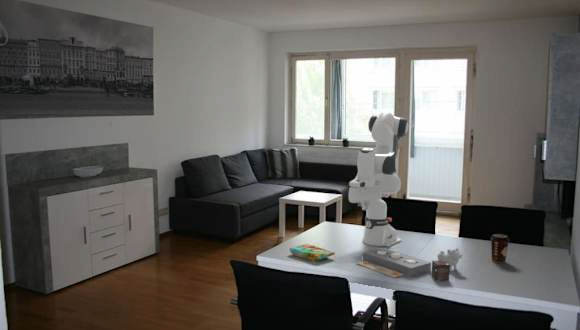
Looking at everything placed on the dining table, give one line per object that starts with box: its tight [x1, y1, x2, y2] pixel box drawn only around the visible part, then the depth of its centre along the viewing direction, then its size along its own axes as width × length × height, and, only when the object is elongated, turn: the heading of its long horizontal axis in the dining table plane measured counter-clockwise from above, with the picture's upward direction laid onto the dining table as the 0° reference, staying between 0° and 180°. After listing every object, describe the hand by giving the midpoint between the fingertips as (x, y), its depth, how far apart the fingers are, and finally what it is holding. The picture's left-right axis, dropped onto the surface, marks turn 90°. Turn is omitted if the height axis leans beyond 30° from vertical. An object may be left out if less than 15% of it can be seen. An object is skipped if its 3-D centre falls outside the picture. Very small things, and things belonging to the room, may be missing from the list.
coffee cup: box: [490, 233, 511, 264], centre depth 252 cm, size 9×8×13 cm
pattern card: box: [356, 260, 405, 279], centre depth 237 cm, size 6×24×1 cm, turn 37°
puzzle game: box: [289, 243, 336, 262], centre depth 256 cm, size 12×5×20 cm
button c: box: [406, 260, 416, 264], centre depth 237 cm, size 4×4×3 cm
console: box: [362, 247, 432, 278], centre depth 244 cm, size 14×30×4 cm, turn 37°
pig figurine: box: [437, 247, 463, 272], centre depth 239 cm, size 5×13×11 cm, turn 32°
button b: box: [391, 252, 401, 259], centre depth 244 cm, size 4×4×3 cm
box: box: [431, 260, 451, 282], centre depth 226 cm, size 6×6×7 cm
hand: (365, 209), depth 250 cm, fingers closed
